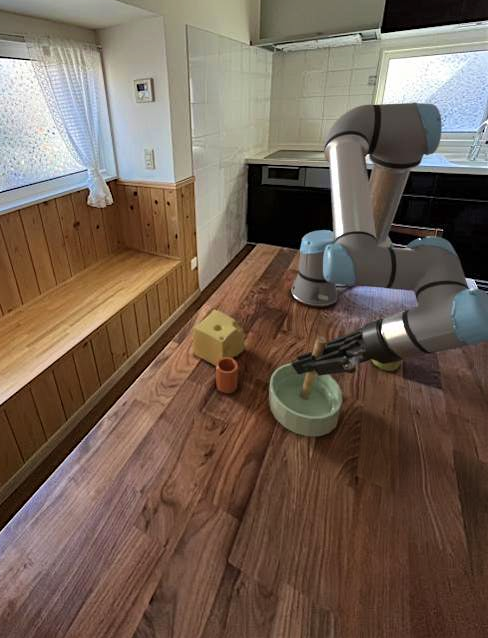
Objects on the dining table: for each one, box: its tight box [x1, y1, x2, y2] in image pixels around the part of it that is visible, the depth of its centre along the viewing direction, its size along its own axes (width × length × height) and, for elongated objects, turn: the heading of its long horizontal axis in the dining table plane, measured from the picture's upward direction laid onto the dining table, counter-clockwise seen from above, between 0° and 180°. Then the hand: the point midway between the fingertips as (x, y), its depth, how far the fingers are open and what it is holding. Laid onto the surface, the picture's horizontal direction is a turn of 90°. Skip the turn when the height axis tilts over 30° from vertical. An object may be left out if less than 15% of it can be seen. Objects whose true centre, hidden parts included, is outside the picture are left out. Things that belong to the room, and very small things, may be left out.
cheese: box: [192, 309, 246, 367], centre depth 92 cm, size 10×11×10 cm
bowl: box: [268, 362, 343, 437], centre depth 76 cm, size 15×15×6 cm
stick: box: [300, 336, 328, 400], centre depth 75 cm, size 2×2×18 cm
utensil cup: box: [215, 357, 239, 394], centre depth 82 cm, size 5×5×7 cm
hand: (298, 364), depth 77 cm, fingers closed on stick, 2 cm apart
